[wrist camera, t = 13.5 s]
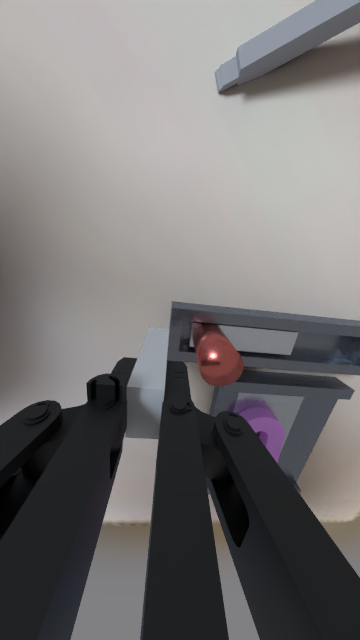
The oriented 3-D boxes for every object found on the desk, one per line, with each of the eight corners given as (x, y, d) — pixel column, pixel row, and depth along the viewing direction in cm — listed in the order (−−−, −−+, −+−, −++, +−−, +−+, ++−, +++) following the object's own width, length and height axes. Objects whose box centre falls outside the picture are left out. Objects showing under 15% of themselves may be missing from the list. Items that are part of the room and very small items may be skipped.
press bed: (196, 474, 24) (198, 494, 22) (219, 368, 19) (225, 381, 17) (287, 477, 25) (298, 496, 23) (335, 377, 20) (354, 390, 18)
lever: (188, 343, 17) (195, 384, 11) (192, 317, 16) (202, 346, 10) (283, 351, 18) (336, 394, 12) (292, 326, 17) (353, 359, 11)
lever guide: (167, 347, 18) (166, 360, 16) (172, 301, 16) (171, 307, 14) (342, 362, 19) (365, 375, 17) (362, 321, 18) (389, 329, 15)
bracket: (261, 489, 23) (298, 579, 16) (220, 489, 22) (241, 582, 16) (281, 407, 19) (340, 477, 13) (234, 406, 19) (268, 478, 12)
